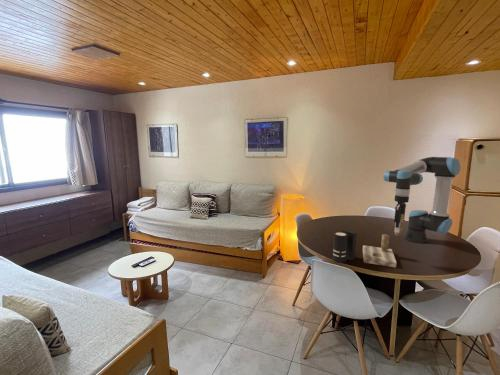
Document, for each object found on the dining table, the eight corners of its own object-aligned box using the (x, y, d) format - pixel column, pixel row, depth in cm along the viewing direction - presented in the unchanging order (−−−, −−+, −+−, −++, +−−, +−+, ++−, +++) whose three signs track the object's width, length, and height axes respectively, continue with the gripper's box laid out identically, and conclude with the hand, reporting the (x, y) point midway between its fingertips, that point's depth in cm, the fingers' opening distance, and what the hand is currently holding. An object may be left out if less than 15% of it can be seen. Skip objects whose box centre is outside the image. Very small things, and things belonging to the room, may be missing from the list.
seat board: (391, 253, 173) (393, 233, 171) (396, 267, 153) (398, 245, 151) (362, 249, 180) (364, 230, 178) (363, 262, 160) (365, 241, 158)
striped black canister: (328, 258, 165) (330, 232, 162) (342, 253, 172) (343, 228, 169) (341, 264, 157) (343, 237, 154) (355, 259, 164) (356, 233, 161)
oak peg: (402, 235, 161) (404, 214, 159) (400, 236, 158) (402, 215, 156) (395, 233, 164) (397, 212, 162) (393, 235, 161) (395, 214, 159)
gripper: (399, 192, 165) (396, 227, 169) (390, 196, 154) (386, 233, 157) (412, 194, 160) (408, 229, 164) (404, 198, 148) (400, 236, 152)
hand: (398, 231), depth 161 cm, fingers closed on oak peg, 4 cm apart
